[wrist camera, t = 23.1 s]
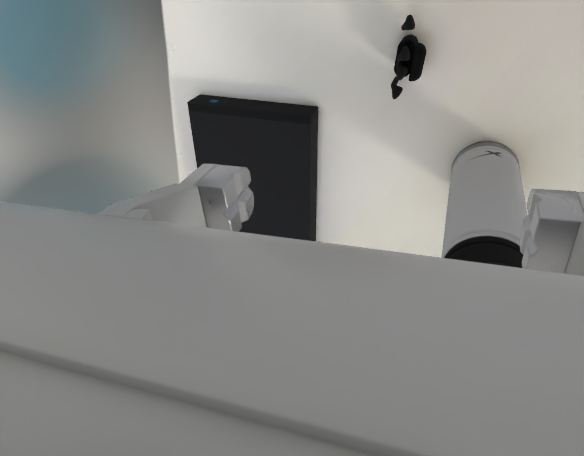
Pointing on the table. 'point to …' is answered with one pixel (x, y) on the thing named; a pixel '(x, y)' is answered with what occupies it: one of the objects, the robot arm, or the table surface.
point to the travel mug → (485, 207)
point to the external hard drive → (264, 158)
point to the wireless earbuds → (408, 58)
